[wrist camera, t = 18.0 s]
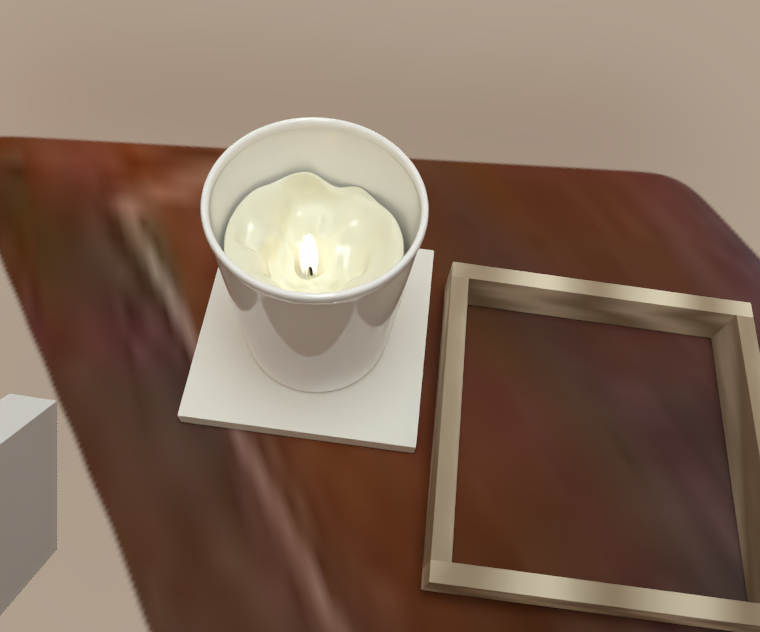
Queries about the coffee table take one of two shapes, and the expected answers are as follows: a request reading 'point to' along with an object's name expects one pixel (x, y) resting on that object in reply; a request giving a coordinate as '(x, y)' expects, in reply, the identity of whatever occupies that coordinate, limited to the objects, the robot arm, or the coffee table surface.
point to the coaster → (312, 409)
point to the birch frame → (618, 307)
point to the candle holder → (315, 245)
